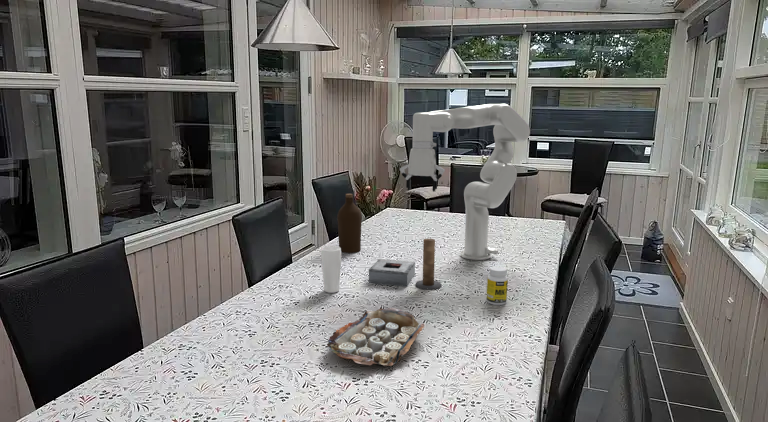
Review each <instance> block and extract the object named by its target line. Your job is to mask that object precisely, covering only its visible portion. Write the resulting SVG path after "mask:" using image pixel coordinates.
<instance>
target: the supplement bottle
mask: <svg viewBox="0 0 768 422" xmlns="http://www.w3.org/2000/svg"><path fill="white" fill-rule="evenodd" d="M507 271H508V270H507V268H506V267H504V266H498V265H497V266H496V265H494V266H490V267H489V273H488V276H487V280H486V281H487V283H486V296H485V297H486V298H485V299H486V302H487V303H488V304H491V305H494V306H502V305H506V304H507V301H508V300H507V298H508V297H507V296H508V283H509V282H508V281H509V279H508V276H507Z"/></svg>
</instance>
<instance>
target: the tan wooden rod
mask: <svg viewBox="0 0 768 422" xmlns="http://www.w3.org/2000/svg"><path fill="white" fill-rule="evenodd" d="M422 243H423V245H422V248H423V250H422V280H423V285H426V286H432V285H434V281H435V259H436V258H435V257H436V253H435V252H436V240H435V239H434V238H424V239H423V241H422Z"/></svg>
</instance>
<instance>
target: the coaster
mask: <svg viewBox="0 0 768 422" xmlns="http://www.w3.org/2000/svg"><path fill="white" fill-rule="evenodd" d="M441 287H442V283H441V282H440V281H437V280H434V285H432V286H426V285H423V279H421V280H417V281H416V282H415V288H417V289H420V290H427V291H432V290H433V291H435V290H438V289H440V288H441Z"/></svg>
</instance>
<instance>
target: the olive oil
mask: <svg viewBox="0 0 768 422" xmlns="http://www.w3.org/2000/svg"><path fill="white" fill-rule="evenodd" d="M344 199H345V203H344V204H343V205H341V207H340V209H339V210H338V212H337V216H336V221H337V231H338V233H337V235H338V247H340V248H341V253H344V254H354V253H359V252H360V251H361V249H362V248H361V246H362V245H361V244H362V242H361V241H362V223H363V222H362V221H363V217H362V211H361V210H360V208H359V207H358V206H357V205H356V203H354V194H353V193H345V198H344Z"/></svg>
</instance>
